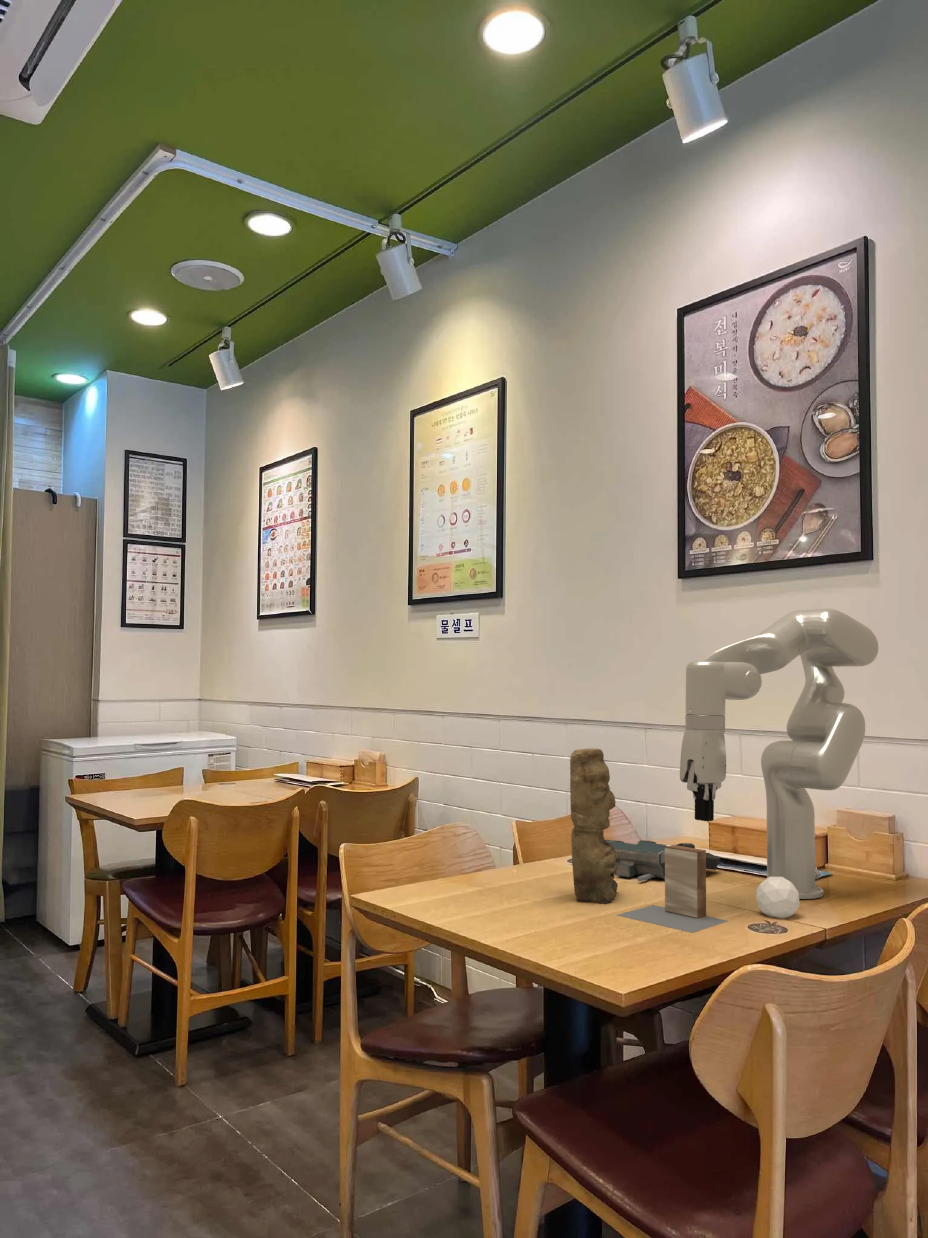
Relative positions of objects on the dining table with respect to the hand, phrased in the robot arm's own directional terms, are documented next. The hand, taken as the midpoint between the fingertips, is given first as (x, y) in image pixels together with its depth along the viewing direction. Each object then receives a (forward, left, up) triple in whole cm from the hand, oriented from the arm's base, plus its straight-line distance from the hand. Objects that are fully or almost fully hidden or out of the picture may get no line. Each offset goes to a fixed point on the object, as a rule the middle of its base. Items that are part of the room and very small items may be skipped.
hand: (704, 820), depth 178 cm
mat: (+11, 0, -17) cm, 21 cm away
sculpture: (+8, -20, -17) cm, 28 cm away
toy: (-25, -29, -18) cm, 43 cm away
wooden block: (+7, 0, -17) cm, 18 cm away
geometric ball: (-6, +12, -17) cm, 22 cm away
